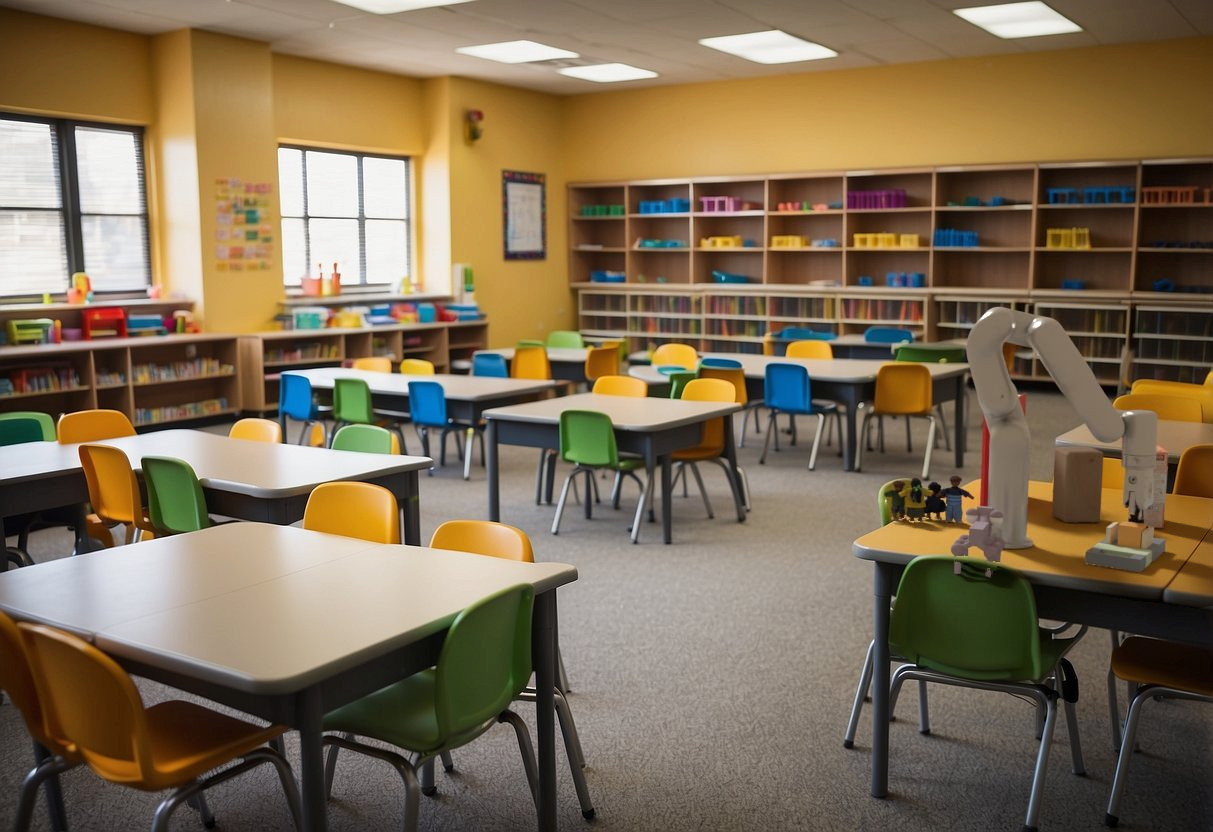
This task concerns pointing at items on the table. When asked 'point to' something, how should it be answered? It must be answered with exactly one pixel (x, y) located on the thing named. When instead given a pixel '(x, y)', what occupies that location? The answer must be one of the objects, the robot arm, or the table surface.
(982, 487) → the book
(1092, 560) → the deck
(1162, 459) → the cracker box
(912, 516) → the doll family
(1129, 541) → the cube
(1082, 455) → the wooden block
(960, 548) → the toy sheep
